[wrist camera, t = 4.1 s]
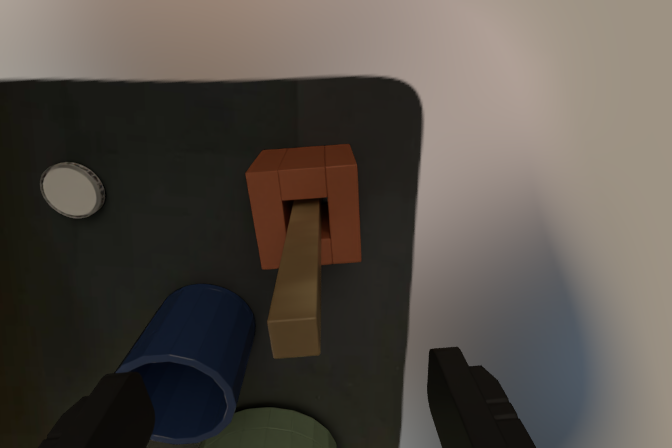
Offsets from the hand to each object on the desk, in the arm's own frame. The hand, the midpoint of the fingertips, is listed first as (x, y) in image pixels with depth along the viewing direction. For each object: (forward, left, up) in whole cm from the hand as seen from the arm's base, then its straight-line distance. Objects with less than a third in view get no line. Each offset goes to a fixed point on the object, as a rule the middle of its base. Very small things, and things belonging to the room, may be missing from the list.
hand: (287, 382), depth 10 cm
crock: (+10, +12, -18) cm, 23 cm away
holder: (0, 0, -18) cm, 18 cm away
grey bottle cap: (+17, -1, -18) cm, 25 cm away
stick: (0, 0, -18) cm, 18 cm away
